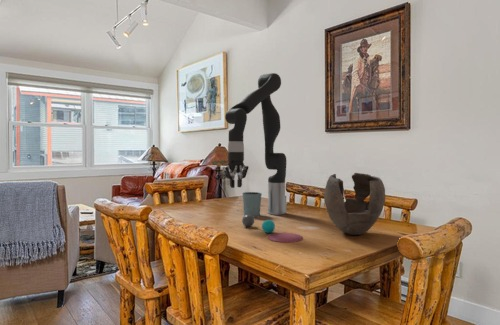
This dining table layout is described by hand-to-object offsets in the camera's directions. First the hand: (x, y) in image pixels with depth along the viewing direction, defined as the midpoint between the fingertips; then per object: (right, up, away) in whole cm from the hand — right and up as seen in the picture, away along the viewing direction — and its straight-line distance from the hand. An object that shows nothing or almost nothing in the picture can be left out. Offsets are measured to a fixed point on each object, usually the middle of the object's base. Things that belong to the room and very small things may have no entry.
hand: (236, 187), depth 161 cm
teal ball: (+14, -15, -18) cm, 28 cm away
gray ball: (+6, -15, -7) cm, 17 cm away
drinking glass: (+8, -17, +20) cm, 27 cm away
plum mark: (+21, -18, -26) cm, 38 cm away
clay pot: (+50, -18, -21) cm, 57 cm away
